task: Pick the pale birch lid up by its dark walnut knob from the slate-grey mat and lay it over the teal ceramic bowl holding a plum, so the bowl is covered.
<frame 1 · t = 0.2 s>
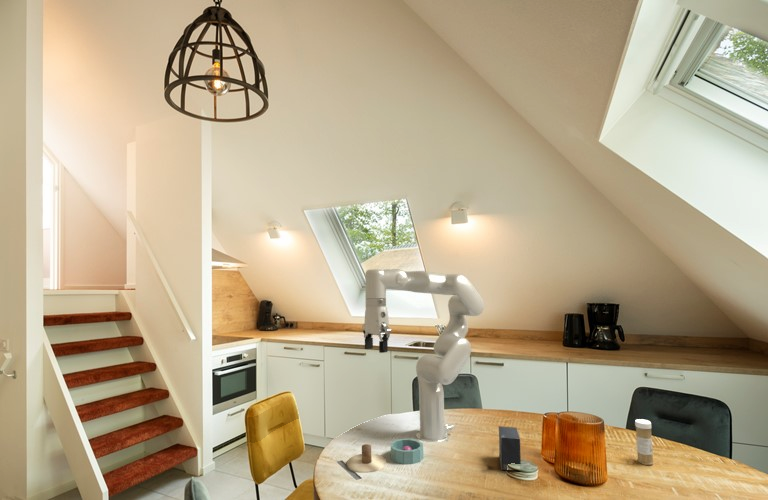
hand: (375, 350, 152), 36 cm above the table, tool pointing down, fingers open, 9 cm apart
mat: (366, 466, 139), on the table
plum: (407, 456, 143), point 1 cm above the table, touching bowl
bowl: (407, 459, 143), on the table
lid: (366, 464, 139), point 1 cm above the table, touching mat
small box: (510, 464, 139), on the table
sprinkles bottle: (645, 463, 138), on the table
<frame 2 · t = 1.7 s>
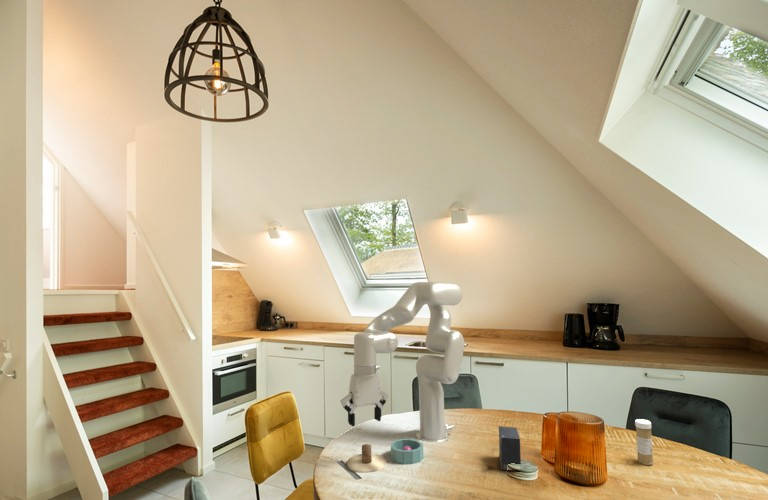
hand: (364, 422, 139), 14 cm above the table, tool pointing down, fingers open, 9 cm apart
nothing on the table moved.
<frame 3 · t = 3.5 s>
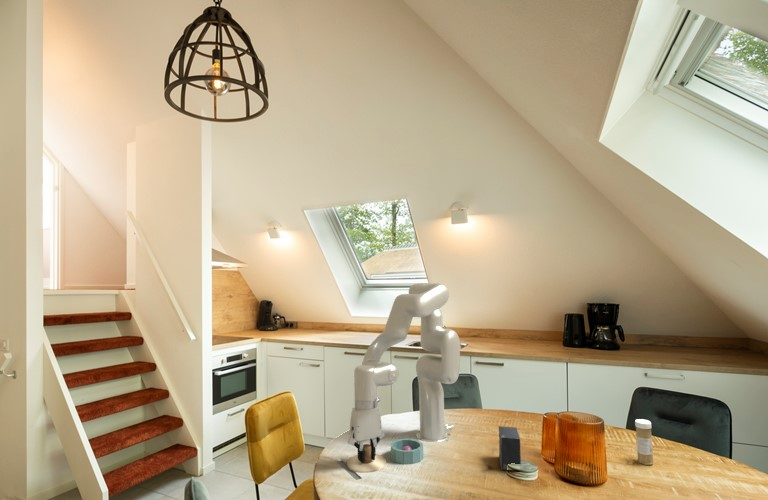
hand: (366, 459, 139), 2 cm above the table, tool pointing down, fingers closed on lid, 3 cm apart
lid: (366, 464, 139), point 1 cm above the table, touching gripper, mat
everything else where it was.
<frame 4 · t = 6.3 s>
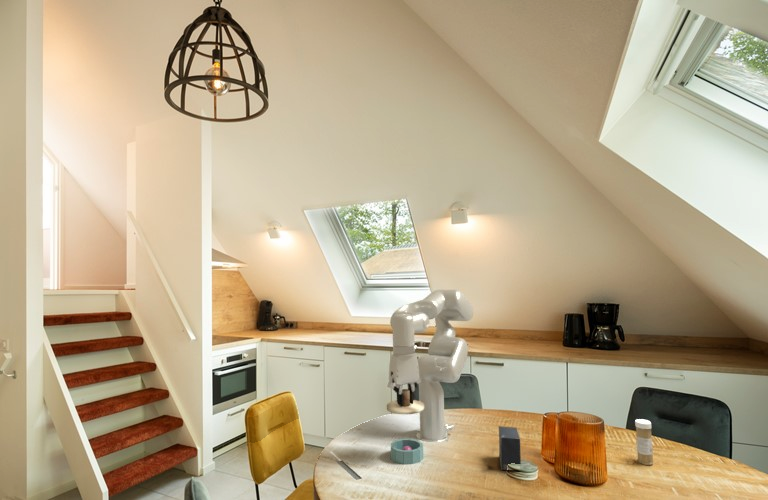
hand: (405, 403, 145), 19 cm above the table, tool pointing down, fingers closed on lid, 3 cm apart
lid: (405, 408, 145), point 17 cm above the table, touching gripper
everything else where it was.
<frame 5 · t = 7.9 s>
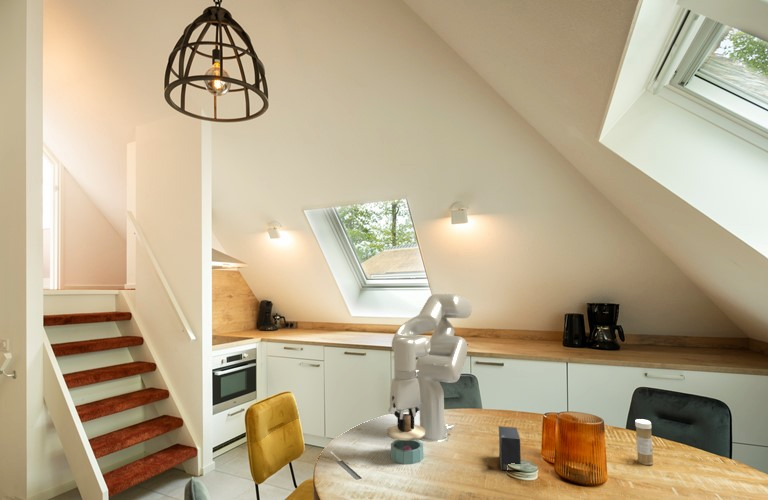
hand: (406, 428, 144), 11 cm above the table, tool pointing down, fingers closed on lid, 3 cm apart
lid: (406, 433, 144), point 9 cm above the table, touching gripper
everything else where it was.
when the fingers open (8 cm above the table, at t = 9.1 s): lid drops 1 cm, resting on bowl.
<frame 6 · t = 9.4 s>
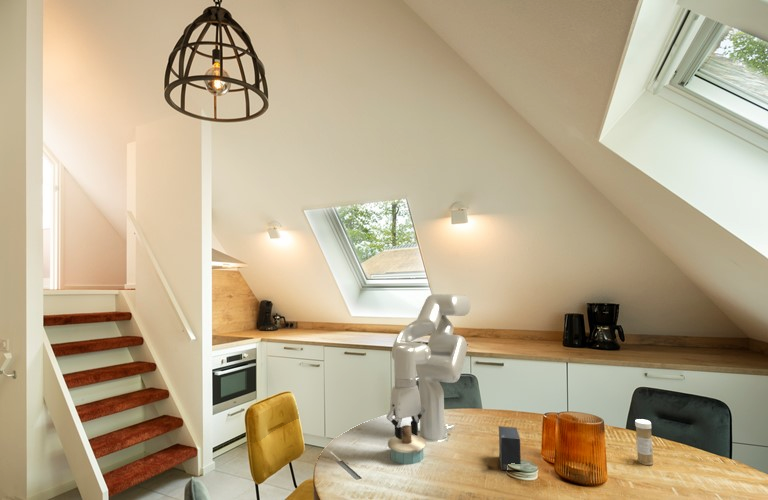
hand: (406, 435, 144), 8 cm above the table, tool pointing down, fingers open, 5 cm apart
lid: (406, 444, 144), point 5 cm above the table, touching bowl
everything else where it was.
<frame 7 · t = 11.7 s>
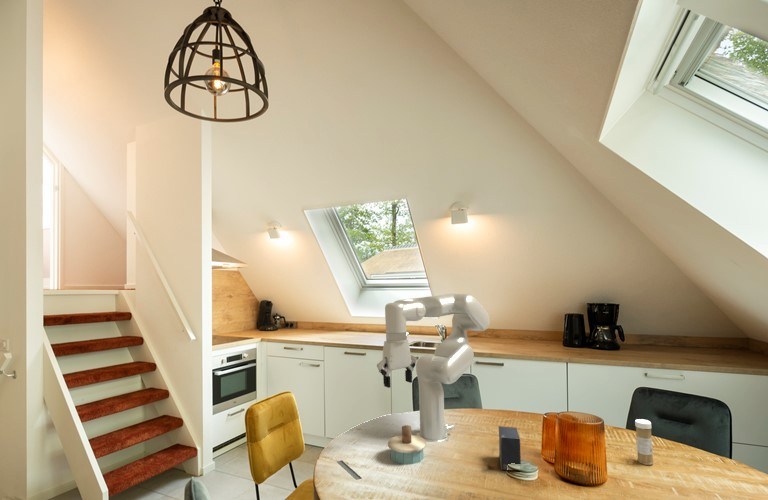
hand: (398, 384, 152), 24 cm above the table, tool pointing down, fingers open, 9 cm apart
nothing on the table moved.
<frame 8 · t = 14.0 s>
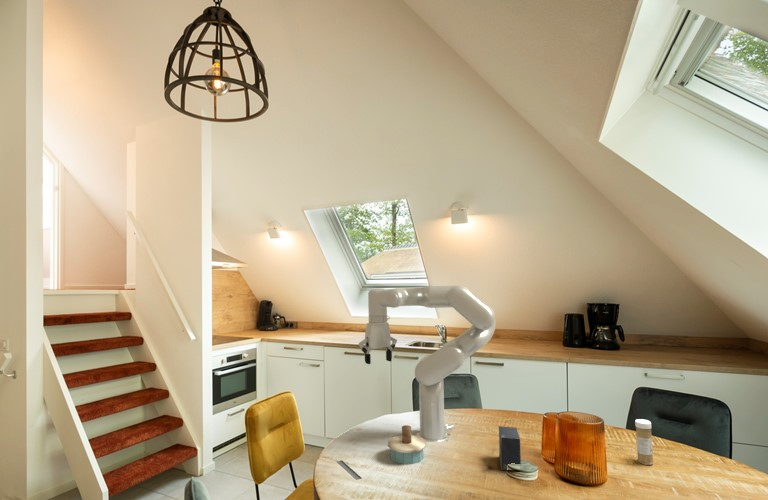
hand: (378, 362, 170), 28 cm above the table, tool pointing down, fingers open, 9 cm apart
nothing on the table moved.
at the end: lid 0.1 cm from the bowl (horizontally); lid point 5.0 cm above the table; lid tilted 0° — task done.
